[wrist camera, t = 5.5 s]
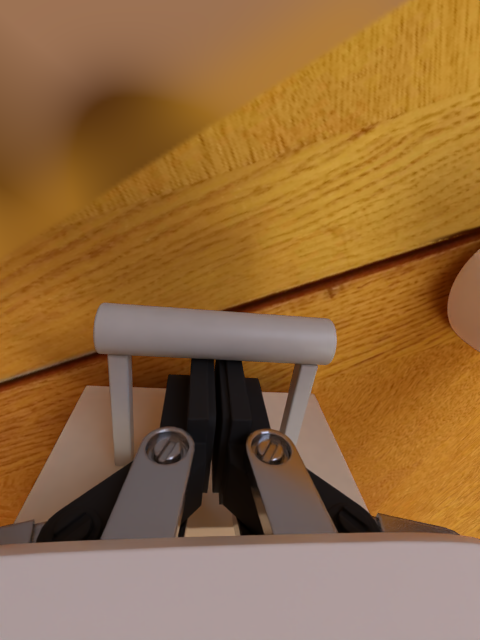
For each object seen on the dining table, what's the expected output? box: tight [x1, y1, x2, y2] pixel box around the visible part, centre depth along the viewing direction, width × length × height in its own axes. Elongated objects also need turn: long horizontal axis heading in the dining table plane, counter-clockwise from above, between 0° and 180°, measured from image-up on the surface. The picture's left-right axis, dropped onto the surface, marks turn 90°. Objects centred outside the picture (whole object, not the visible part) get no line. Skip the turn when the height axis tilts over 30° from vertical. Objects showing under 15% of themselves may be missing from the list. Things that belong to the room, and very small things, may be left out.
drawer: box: [14, 303, 369, 537], centre depth 15 cm, size 20×11×7 cm, turn 173°
